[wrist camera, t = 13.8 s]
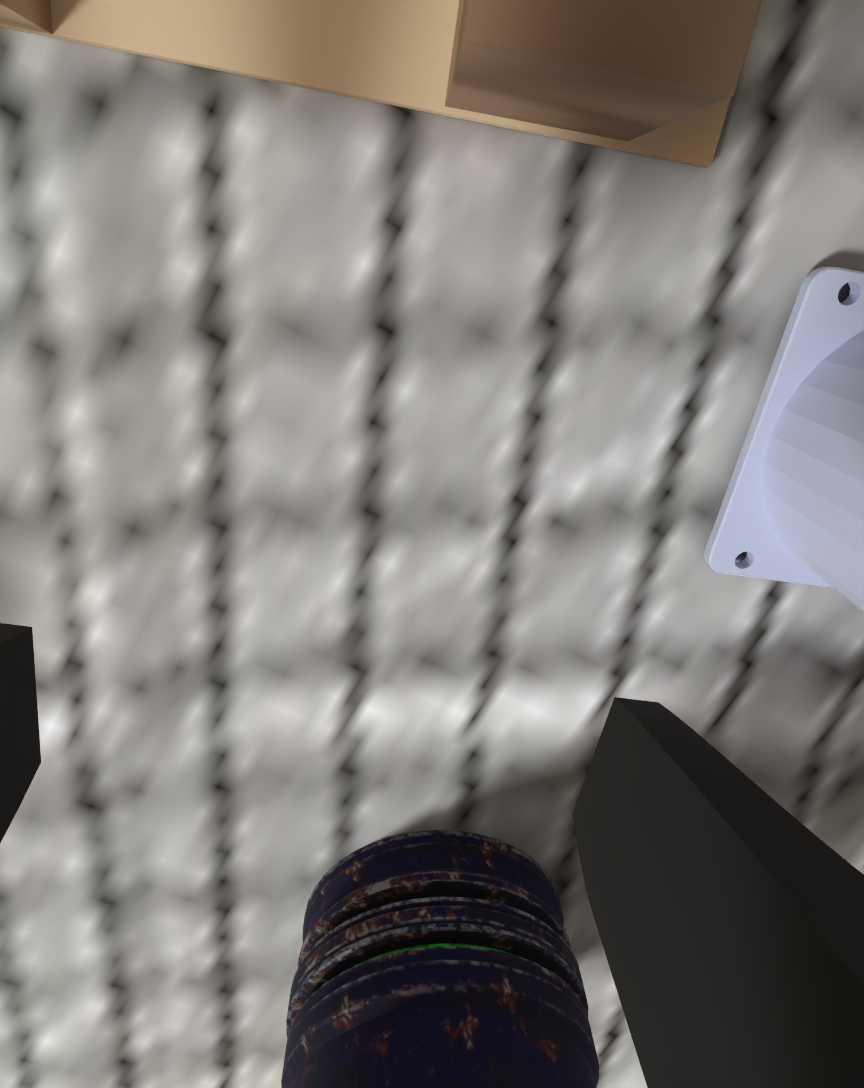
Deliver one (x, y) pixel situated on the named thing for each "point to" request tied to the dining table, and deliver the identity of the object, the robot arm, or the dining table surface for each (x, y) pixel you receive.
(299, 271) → the dining table surface
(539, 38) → the walnut block
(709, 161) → the board
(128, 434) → the dining table surface
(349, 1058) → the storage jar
